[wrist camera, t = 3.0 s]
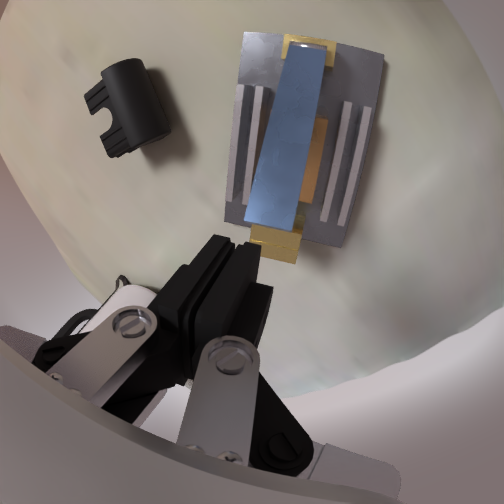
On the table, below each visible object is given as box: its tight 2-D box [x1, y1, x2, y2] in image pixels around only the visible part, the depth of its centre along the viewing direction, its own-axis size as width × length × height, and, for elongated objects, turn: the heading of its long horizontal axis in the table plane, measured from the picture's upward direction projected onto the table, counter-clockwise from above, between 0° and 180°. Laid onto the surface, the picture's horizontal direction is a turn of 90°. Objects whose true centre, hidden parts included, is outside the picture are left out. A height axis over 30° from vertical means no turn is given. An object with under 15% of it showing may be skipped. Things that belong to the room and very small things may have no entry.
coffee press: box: [51, 275, 157, 340], centre depth 36 cm, size 17×16×30 cm
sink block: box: [224, 32, 384, 264], centre depth 25 cm, size 22×14×9 cm, turn 173°
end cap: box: [84, 58, 171, 158], centre depth 28 cm, size 10×7×7 cm
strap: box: [244, 40, 327, 233], centre depth 19 cm, size 16×3×1 cm
